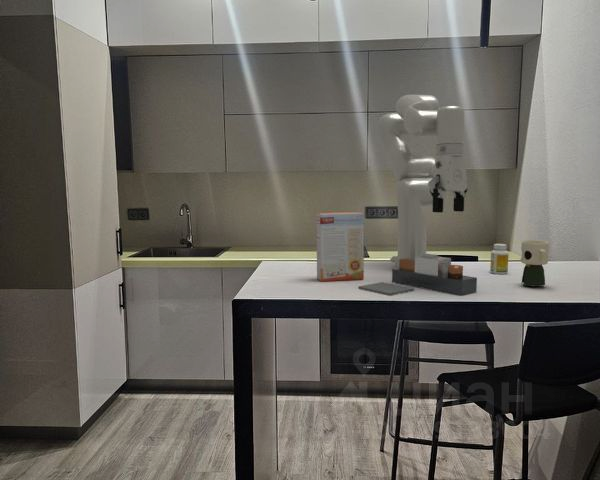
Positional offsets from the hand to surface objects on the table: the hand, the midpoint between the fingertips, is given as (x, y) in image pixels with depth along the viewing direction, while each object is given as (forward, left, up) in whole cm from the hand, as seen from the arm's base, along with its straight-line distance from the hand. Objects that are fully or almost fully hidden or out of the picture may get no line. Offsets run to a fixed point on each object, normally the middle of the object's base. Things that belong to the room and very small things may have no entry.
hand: (448, 211), depth 143 cm
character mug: (+16, +18, -22) cm, 33 cm away
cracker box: (-28, -17, -22) cm, 39 cm away
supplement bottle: (-2, +31, -22) cm, 38 cm away
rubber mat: (-8, -18, -22) cm, 29 cm away
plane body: (-2, -5, -22) cm, 22 cm away
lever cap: (-2, -5, -18) cm, 18 cm away
